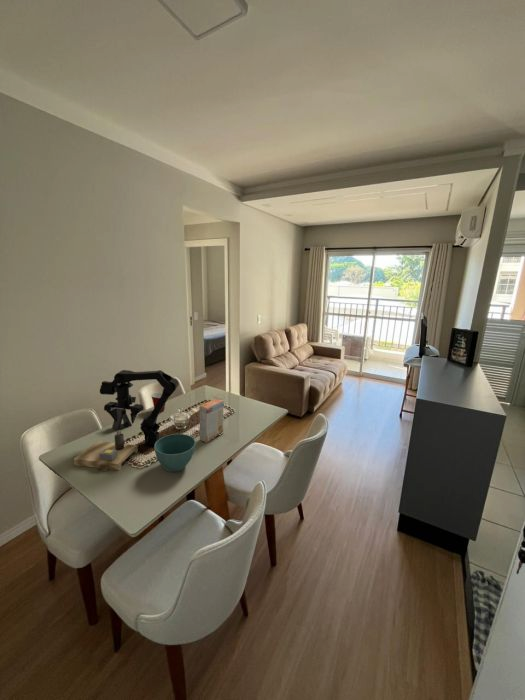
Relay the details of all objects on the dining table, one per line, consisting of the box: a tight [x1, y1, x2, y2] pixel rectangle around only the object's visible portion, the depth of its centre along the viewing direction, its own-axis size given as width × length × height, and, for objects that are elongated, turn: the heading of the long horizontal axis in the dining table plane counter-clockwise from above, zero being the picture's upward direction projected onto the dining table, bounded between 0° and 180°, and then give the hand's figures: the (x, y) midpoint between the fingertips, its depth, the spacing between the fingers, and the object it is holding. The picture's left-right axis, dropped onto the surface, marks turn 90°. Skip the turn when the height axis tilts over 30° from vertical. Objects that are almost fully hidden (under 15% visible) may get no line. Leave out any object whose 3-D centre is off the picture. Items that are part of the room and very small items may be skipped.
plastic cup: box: [150, 391, 166, 413], centre depth 192 cm, size 11×11×12 cm
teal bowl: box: [154, 433, 196, 473], centre depth 133 cm, size 18×18×12 cm
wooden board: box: [73, 440, 138, 472], centre depth 138 cm, size 22×19×3 cm
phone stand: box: [111, 409, 133, 431], centre depth 168 cm, size 9×6×12 cm, turn 142°
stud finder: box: [100, 449, 118, 461], centre depth 133 cm, size 6×4×3 cm, turn 84°
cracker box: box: [198, 398, 224, 444], centre depth 161 cm, size 14×6×21 cm, turn 146°
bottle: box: [114, 430, 125, 450], centre depth 141 cm, size 4×4×10 cm
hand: (124, 422), depth 150 cm, fingers open, 9 cm apart
